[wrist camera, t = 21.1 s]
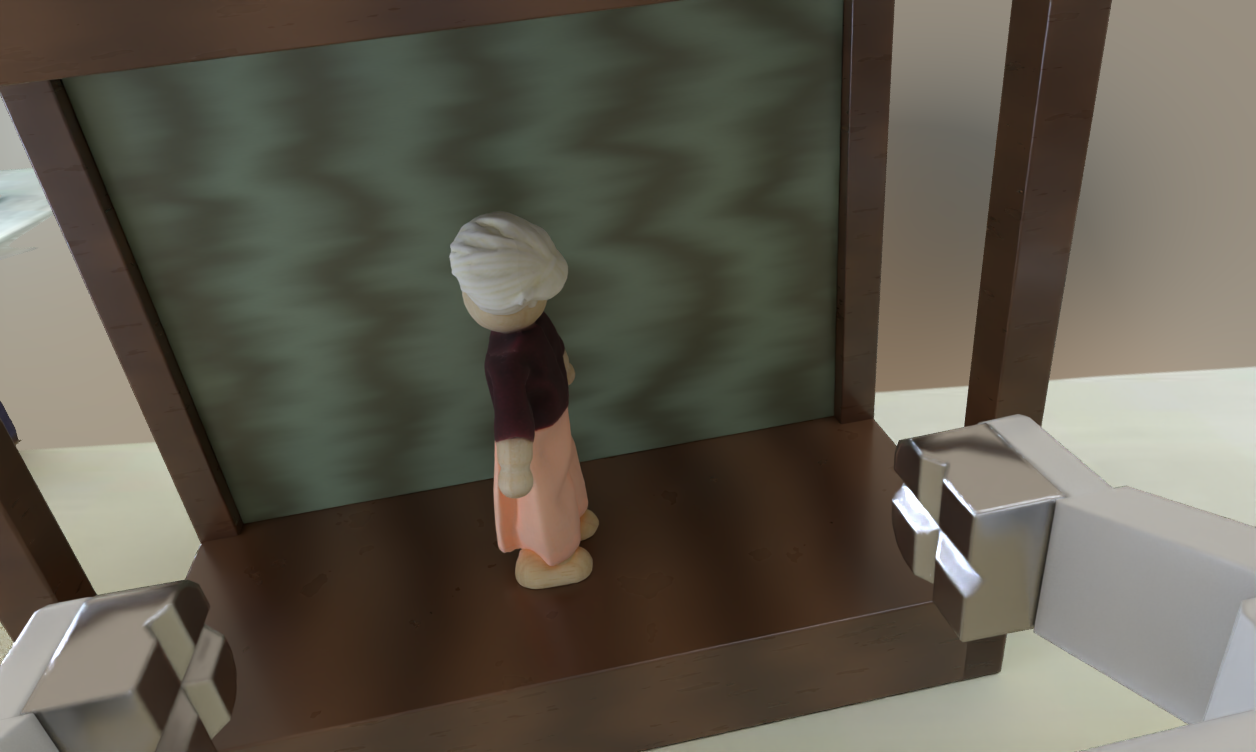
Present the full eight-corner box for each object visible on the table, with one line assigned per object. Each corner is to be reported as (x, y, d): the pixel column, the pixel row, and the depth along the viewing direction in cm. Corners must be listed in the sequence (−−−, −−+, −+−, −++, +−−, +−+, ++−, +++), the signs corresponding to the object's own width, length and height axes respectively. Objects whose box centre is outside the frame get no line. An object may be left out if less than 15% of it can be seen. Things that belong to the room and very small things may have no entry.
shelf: (856, 474, 39) (880, -113, 27) (1001, 672, 28) (1137, -143, 17) (241, 592, 36) (-20, -10, 25) (150, 861, 26) (-379, 30, 14)
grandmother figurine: (506, 498, 33) (440, 188, 27) (602, 485, 33) (557, 173, 27) (496, 644, 26) (406, 274, 20) (616, 628, 27) (561, 255, 20)
